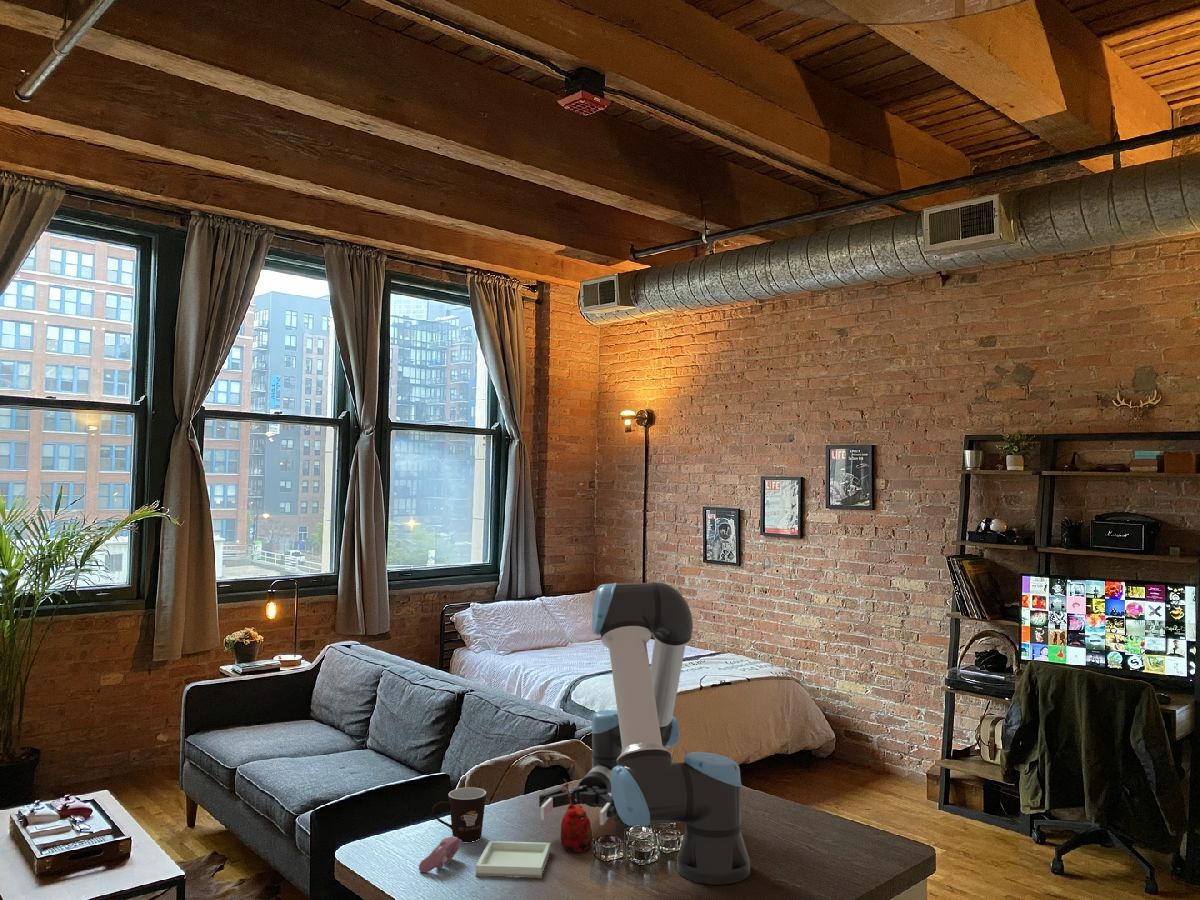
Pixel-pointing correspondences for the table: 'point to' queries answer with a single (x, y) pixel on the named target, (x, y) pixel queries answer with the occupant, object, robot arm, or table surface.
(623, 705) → the robot arm
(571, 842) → the red bumpy rounded piece
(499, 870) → the sage tray
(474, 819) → the coffee mug
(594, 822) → the table surface
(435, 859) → the pink animal figurine
